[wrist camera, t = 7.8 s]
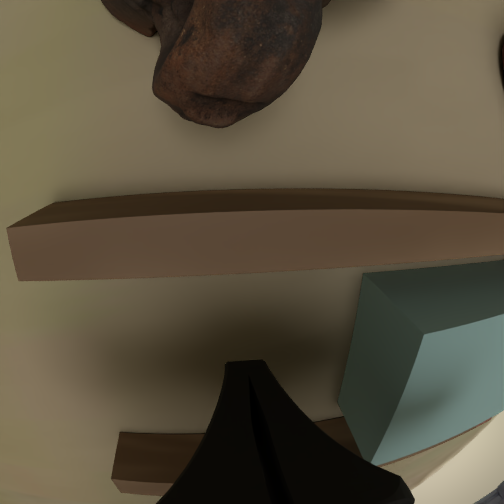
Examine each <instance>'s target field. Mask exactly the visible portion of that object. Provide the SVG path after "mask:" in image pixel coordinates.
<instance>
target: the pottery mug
mask: <svg viewBox="0 0 504 504" xmlns="http://www.w3.org/2000/svg"><path fill="white" fill-rule="evenodd" d="M101 1H102V3H103V4H104V6H105V7H106V8H107V9H108V11H109V12H110V13H111V14H112V15H113V16H114V17H116V18H117V19H118V20H120V21H122V22H124V23H125V24H126V25H128V26H129V27H131V28H132V29H134V30H136V31H138V32H139V33H141V34H144V35H145V36H152V35H153V34H154V33H155V32H156V30H157V31H158V33H159V35H160V40H161V50H160V55H159V58H158V60H157V63H156V66H155V70H154V76H153V84H152V90H153V93H154V95H155V96H156V97H157V98H159V99H160V100H161V101H163V102H165V103H166V104H168V105H169V106H170V107H171V108H172V109H173V110H174V111H175V112H177V113H178V114H179V115H180V116H181V117H182V118H184V119H186V120H188V121H193V122H195V123H197V124H201V125H207V126H211V127H215V128H224V127H228V126H230V125H232V124H234V123H236V122H237V121H239V120H241V119H243V118H245V117H247V116H249V115H251V114H253V113H255V112H257V111H260V110H262V109H263V108H265V107H266V106H268V105H270V104H271V103H272V102H273V101H274V100H276V99H277V98H278V97H280V96H281V95H282V94H283V93H284V92H285V91H286V90H287V89H288V88H289V87H290V86H291V85H292V83H293V82H294V81H295V80H296V78H297V77H298V76H299V74H300V73H301V71H302V70H303V68H304V66H305V65H306V63H307V61H308V60H309V58H310V55H311V53H312V50H313V48H314V45H315V43H316V40H317V37H318V34H319V32H320V29H321V25H322V8H323V7H325V6H326V5H327V4H328V3H329V2H330V0H101Z"/></svg>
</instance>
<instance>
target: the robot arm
mask: <svg viewBox="0 0 504 504" xmlns="http://www.w3.org/2000/svg"><path fill="white" fill-rule="evenodd" d="M414 501H415V499H414V497H413V495H412V493H411V491H410V489H409V488H408V486H407V485H406V483H405V482H404V481H403V479H402V478H401V476H399V475H396V474H394V473H391V472H389V471H387V470H384V469H382V468H380V467H378V466H376V465H374V464H372V463H370V462H368V461H366V460H364V459H363V458H361V457H359V456H357V455H356V454H354V453H353V452H351V451H350V450H348V449H347V448H345V447H344V446H342V445H341V444H339V443H338V442H336V441H335V440H334V439H333V438H331V437H330V436H329V435H327V434H326V433H325V432H324V431H323V430H321V429H320V428H319V427H318V426H317V425H316V424H315V423H314V422H312V421H311V420H310V419H309V418H308V417H307V416H306V415H305V414H304V413H303V411H302V410H301V409H300V408H299V407H298V406H297V405H296V404H295V403H294V402H293V400H292V399H291V398H290V397H289V396H288V394H287V393H286V392H285V391H284V389H283V388H282V387H281V385H280V384H279V383H278V381H277V380H276V378H275V377H274V375H273V374H272V372H271V371H270V369H269V367H268V366H267V364H266V362H265V361H264V360H262V359H261V360H248V361H233V362H227V363H226V364H225V374H224V380H223V385H222V389H221V393H220V396H219V399H218V403H217V406H216V408H215V411H214V414H213V416H212V419H211V421H210V424H209V426H208V428H207V430H206V432H205V434H204V436H203V438H202V440H201V442H200V444H199V446H198V448H197V449H196V451H195V453H194V455H193V456H192V458H191V460H190V461H189V463H188V464H187V466H186V467H185V469H184V470H183V471H182V473H181V474H180V476H179V477H178V478H177V480H176V481H175V482H174V484H173V485H172V486H171V487H170V489H169V490H168V491H167V492H166V493H165V494H164V496H163V497H162V498H161V499H160V500H159V501H158V502H157V503H156V504H414ZM474 504H504V481H503V482H502V483H501V484H500V485H499V486H498V488H497V489H495V490H494V491H492V492H491V493H489V494H488V495H486V496H485V497H483V498H482V499H480V500H479V501H477V502H475V503H474Z"/></svg>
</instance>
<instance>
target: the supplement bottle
mask: <svg viewBox="0 0 504 504" xmlns="http://www.w3.org/2000/svg"><path fill="white" fill-rule="evenodd" d="M502 51H503V53H502V59H503V68H504V44H503V49H502Z"/></svg>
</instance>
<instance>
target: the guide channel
mask: <svg viewBox="0 0 504 504" xmlns="http://www.w3.org/2000/svg"><path fill="white" fill-rule="evenodd" d="M6 229H7V234H8V239H9V244H10V248H11V253H12V257H13V261H14V266H15V270H16V273H17V277H18V281H55V280H96V279H128V278H155V277H180V276H202V275H223V274H243V273H262V272H279V271H296V270H312V269H328V268H343V267H358V266H372V265H385V264H398V263H411V262H424V261H436V260H447V259H459V258H470V257H481V256H492V255H502V254H504V199H500V198H490V197H480V196H468V195H456V194H443V193H428V192H411V191H391V190H363V189H237V190H208V191H187V192H169V193H154V194H139V195H127V196H115V197H104V198H93V199H83V200H74V201H65V202H56V203H52V204H50V205H48V206H46V207H44V208H42V209H40V210H38V211H36V212H35V213H33V214H31V215H29V216H27V217H25V218H23V219H22V220H20V221H18V222H16V223H15V224H13V225H11V226H9V227H7V228H6ZM491 418H492V417H491ZM491 418H489V419H487V420H486V421H484V422H482V423H480V424H478V425H476V426H474V427H472V428H470V429H468V430H466V431H464V432H462V433H460V434H458V435H456V436H453V437H451V438H449V439H447V440H445V441H442V442H440V443H438V444H435V445H433V446H431V447H428V448H426V449H423V450H421V451H418V452H415V453H413V454H410V455H407V456H404V457H402V458H399V459H396V460H393V461H390V462H387V463H384V464H381V465H377V466H378V467H382V466H385V465H388V464H391V463H394V462H397V461H400V460H403V459H405V458H408V457H411V456H414V455H416V454H419V453H421V452H424V451H426V450H429V449H431V448H433V447H436V446H438V445H440V444H443V443H445V442H447V441H449V440H452V439H454V438H456V437H458V436H460V435H462V434H464V433H466V432H468V431H470V430H472V429H474V428H476V427H478V426H480V425H482V424H483V423H485V422H487V421H489V420H490V419H491ZM314 423H315V424H316V425H317V426H318V427H319V428H320V429H321V430H323V431H324V432H325V433H326V434H327V435H329V436H330V437H331V438H333V439H334V440H335V441H336V442H338V443H339V444H341V445H342V446H344V447H345V448H347V449H348V450H350V451H351V452H353V453H354V454H356V455H357V456H359V457H361V458H363V457H362V455H361V453H360V450H359V448H358V446H357V444H356V442H355V439H354V437H353V435H352V433H351V431H350V428H349V426H348V424H347V422H346V420H345V417H341V418H336V419H331V420H325V421H320V422H314ZM203 436H204V434H140V433H123V432H120V434H119V439H118V444H117V449H116V454H115V459H114V465H113V471H112V476H111V480H112V481H113V482H114V484H115V485H116V487H117V488H118V489H119V491H120V492H121V493H130V494H141V495H156V496H164V494H165V493H166V492H167V491H168V490H169V489H170V487H171V486H172V485H173V484H174V482H175V481H176V480H177V478H178V477H179V476H180V474H181V473H182V471H183V470H184V469H185V467H186V466H187V464H188V463H189V461H190V460H191V458H192V456H193V455H194V453H195V451H196V449H197V448H198V446H199V444H200V442H201V440H202V438H203Z"/></svg>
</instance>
